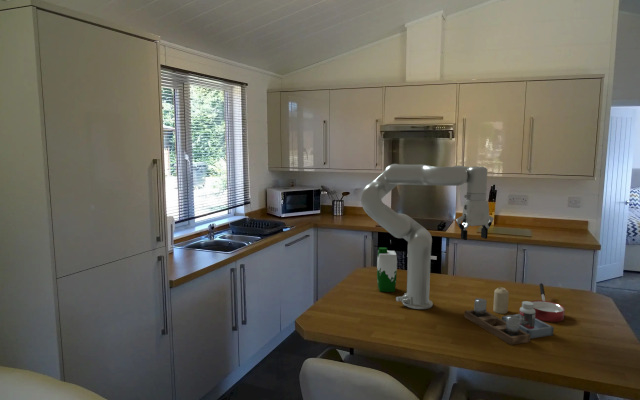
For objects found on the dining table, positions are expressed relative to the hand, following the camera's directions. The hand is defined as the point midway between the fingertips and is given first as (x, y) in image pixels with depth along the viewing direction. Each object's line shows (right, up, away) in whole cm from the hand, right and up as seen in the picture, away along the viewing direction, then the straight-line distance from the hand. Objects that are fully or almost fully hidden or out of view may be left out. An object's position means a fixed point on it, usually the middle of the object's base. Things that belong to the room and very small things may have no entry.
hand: (474, 238), depth 184 cm
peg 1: (0, -31, -7) cm, 32 cm away
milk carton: (-32, -27, +29) cm, 51 cm away
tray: (+14, -33, -15) cm, 39 cm away
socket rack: (+3, -33, -15) cm, 36 cm away
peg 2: (+6, -34, -23) cm, 41 cm away
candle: (+12, -31, +3) cm, 33 cm away
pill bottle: (+14, -32, -15) cm, 39 cm away
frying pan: (+31, -30, +7) cm, 44 cm away
